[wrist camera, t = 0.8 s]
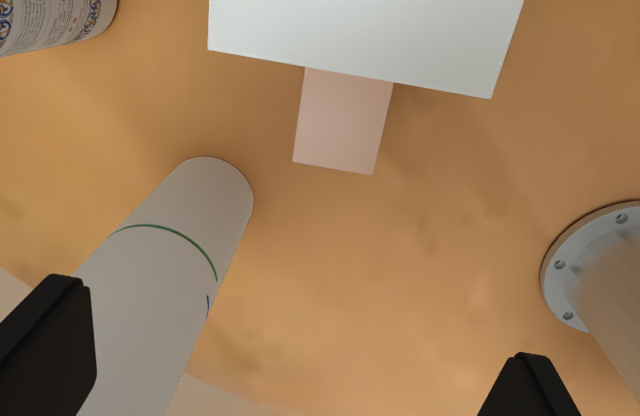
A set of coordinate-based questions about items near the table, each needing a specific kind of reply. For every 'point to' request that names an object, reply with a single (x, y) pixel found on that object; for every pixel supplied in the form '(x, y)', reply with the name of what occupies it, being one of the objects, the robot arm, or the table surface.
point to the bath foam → (51, 23)
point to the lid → (366, 60)
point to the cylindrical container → (161, 284)
